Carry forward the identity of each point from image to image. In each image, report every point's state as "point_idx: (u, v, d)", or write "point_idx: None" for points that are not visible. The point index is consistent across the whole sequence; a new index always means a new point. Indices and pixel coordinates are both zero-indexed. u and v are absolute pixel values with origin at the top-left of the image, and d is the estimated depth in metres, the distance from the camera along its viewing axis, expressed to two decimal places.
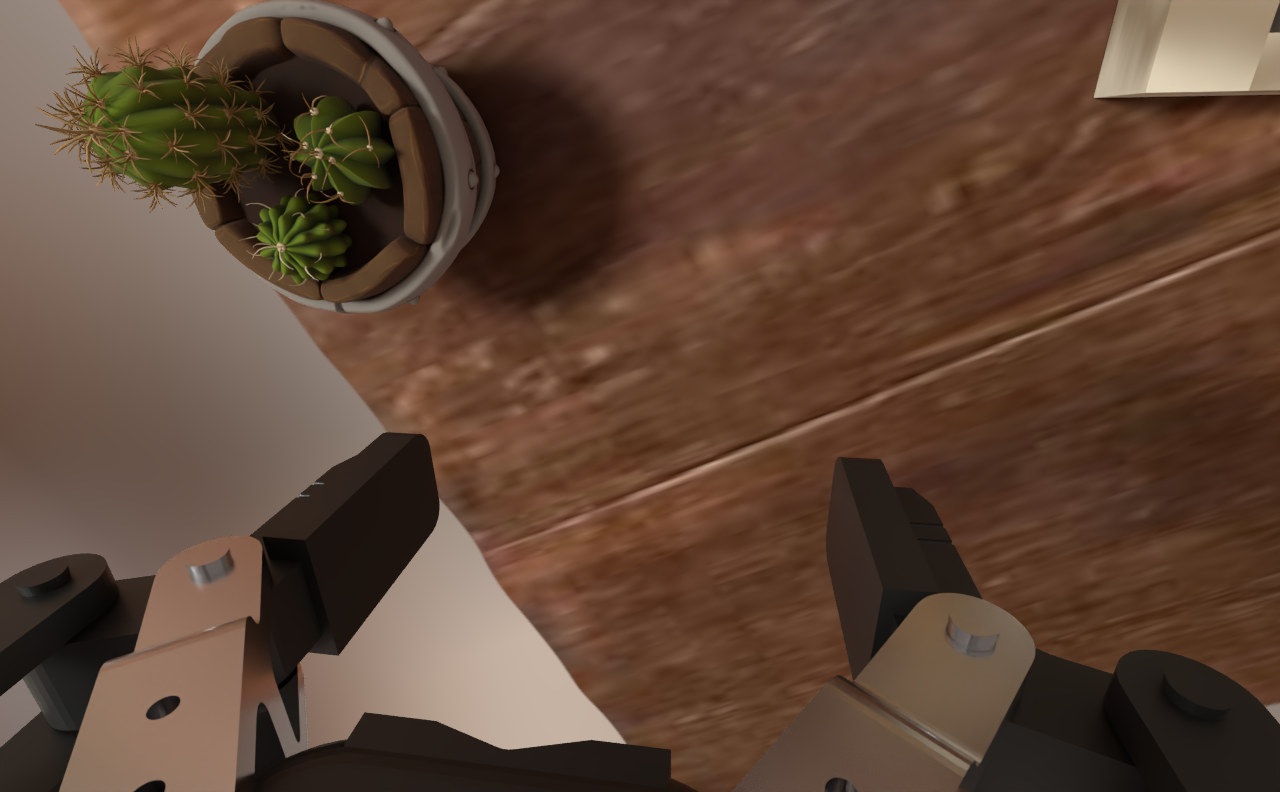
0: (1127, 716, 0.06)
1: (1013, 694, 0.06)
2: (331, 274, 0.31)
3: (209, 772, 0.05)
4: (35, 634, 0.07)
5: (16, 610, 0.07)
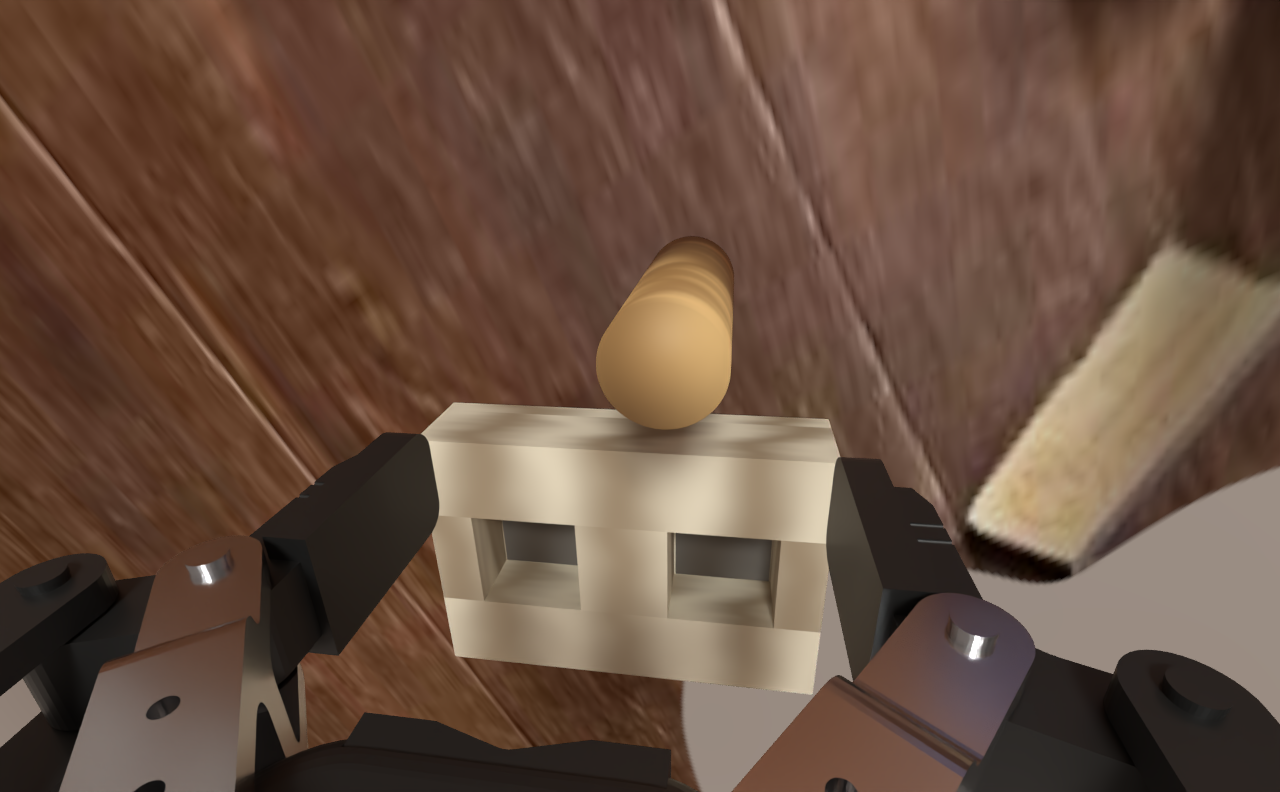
0: (1128, 716, 0.06)
1: (1013, 694, 0.06)
2: None
3: (209, 772, 0.05)
4: (35, 634, 0.07)
5: (16, 610, 0.07)
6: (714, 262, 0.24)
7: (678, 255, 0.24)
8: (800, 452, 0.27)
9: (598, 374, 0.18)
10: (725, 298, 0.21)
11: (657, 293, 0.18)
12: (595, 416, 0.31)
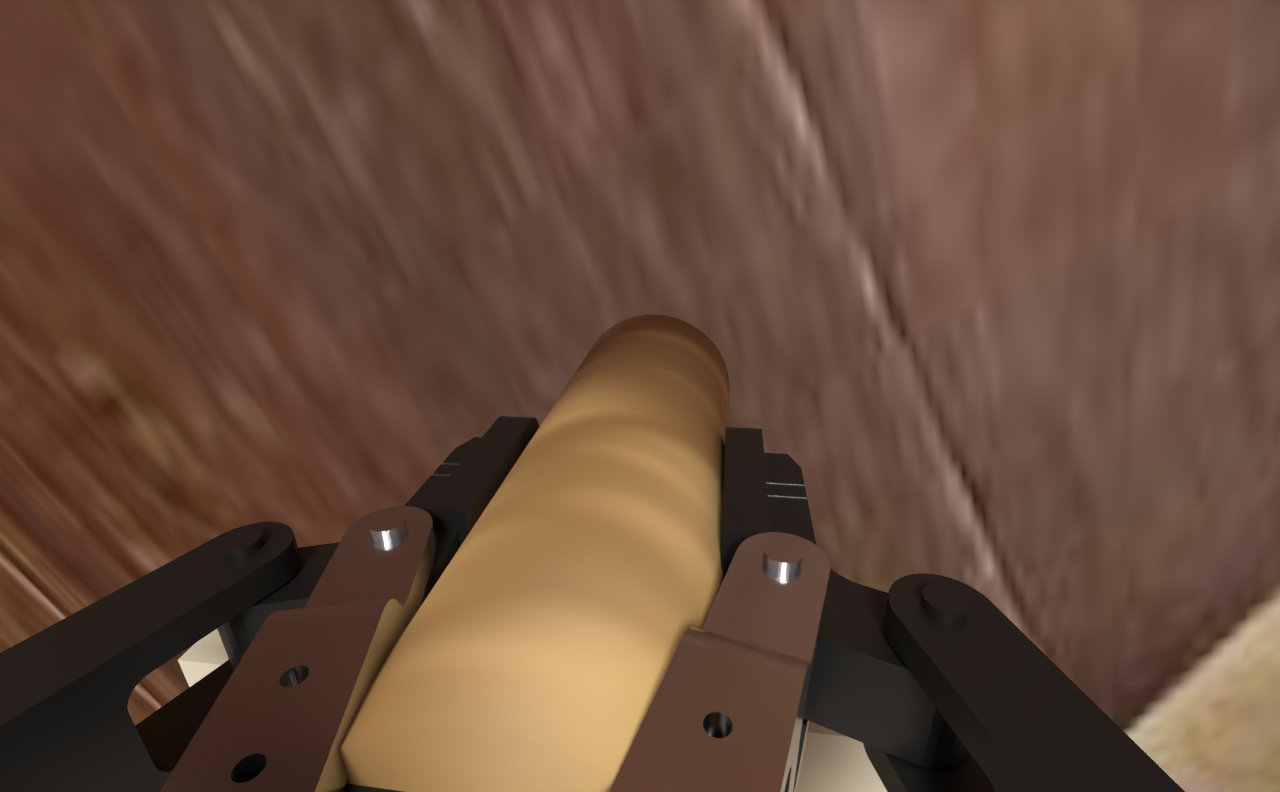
0: (903, 638, 0.07)
1: (795, 605, 0.07)
2: None
3: (300, 763, 0.05)
4: (218, 600, 0.07)
5: (213, 570, 0.08)
6: (689, 392, 0.12)
7: (613, 384, 0.11)
8: None
9: None
10: (708, 521, 0.09)
11: (491, 625, 0.06)
12: None
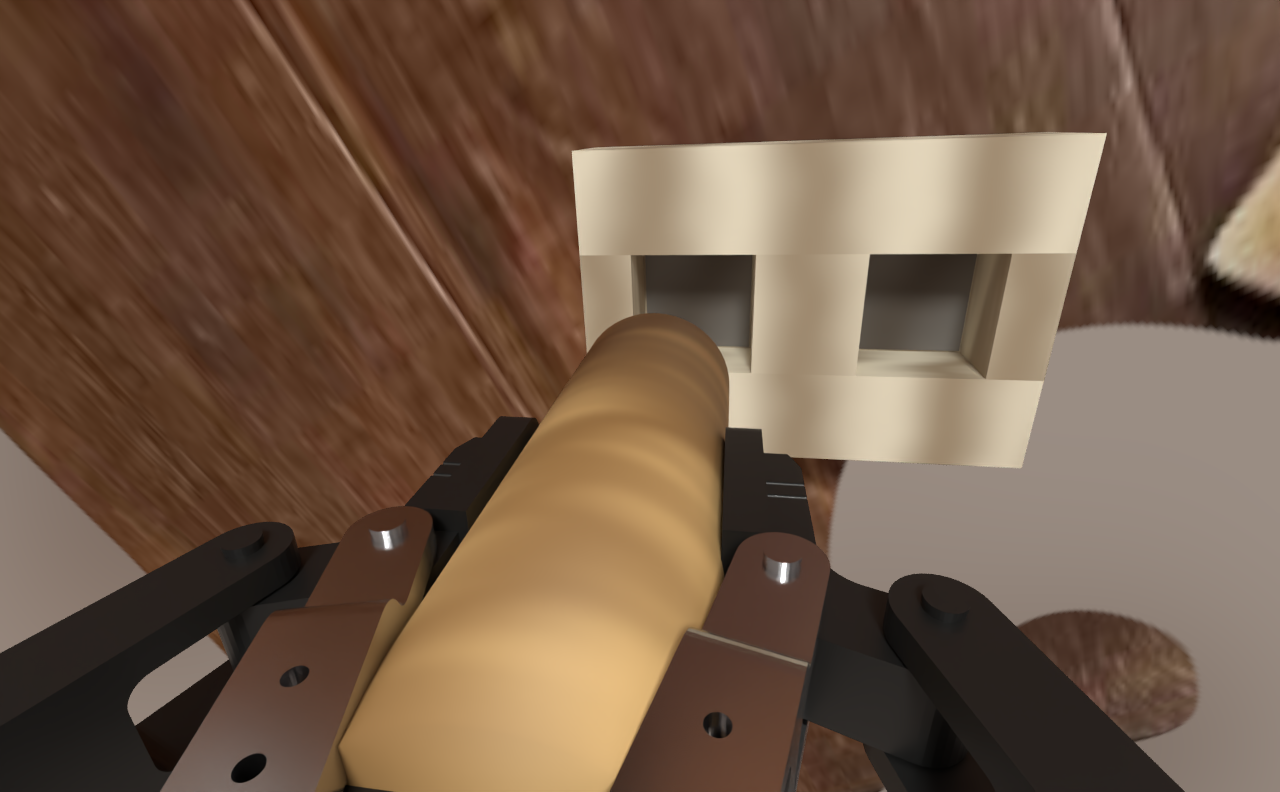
0: (903, 638, 0.07)
1: (795, 605, 0.07)
2: None
3: (301, 763, 0.05)
4: (217, 600, 0.07)
5: (213, 570, 0.08)
6: (689, 390, 0.12)
7: (613, 382, 0.11)
8: (1044, 134, 0.23)
9: None
10: (708, 519, 0.09)
11: (490, 622, 0.06)
12: None
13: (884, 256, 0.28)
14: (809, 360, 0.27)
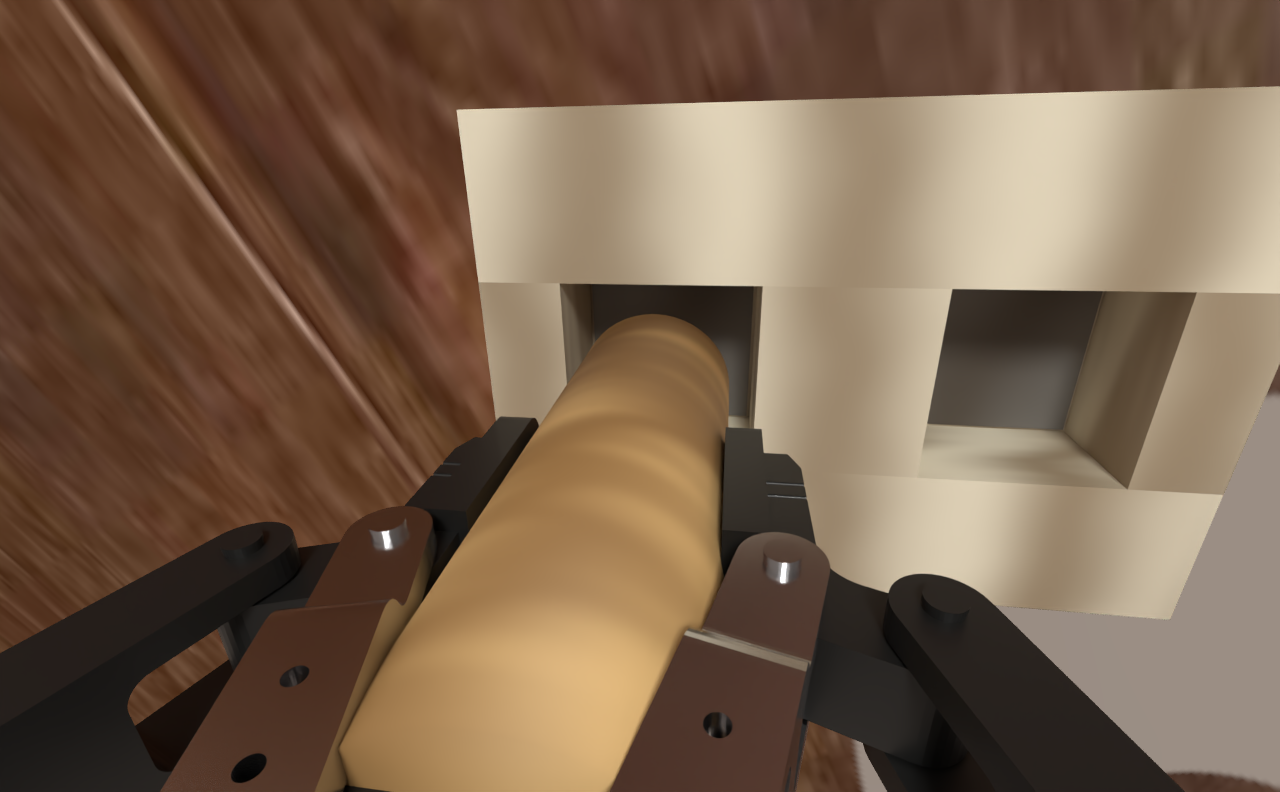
0: (903, 638, 0.07)
1: (795, 605, 0.07)
2: None
3: (301, 763, 0.05)
4: (218, 600, 0.07)
5: (213, 570, 0.08)
6: (689, 391, 0.12)
7: (613, 384, 0.11)
8: None
9: None
10: (708, 520, 0.09)
11: (490, 624, 0.06)
12: None
13: None
14: (844, 452, 0.17)
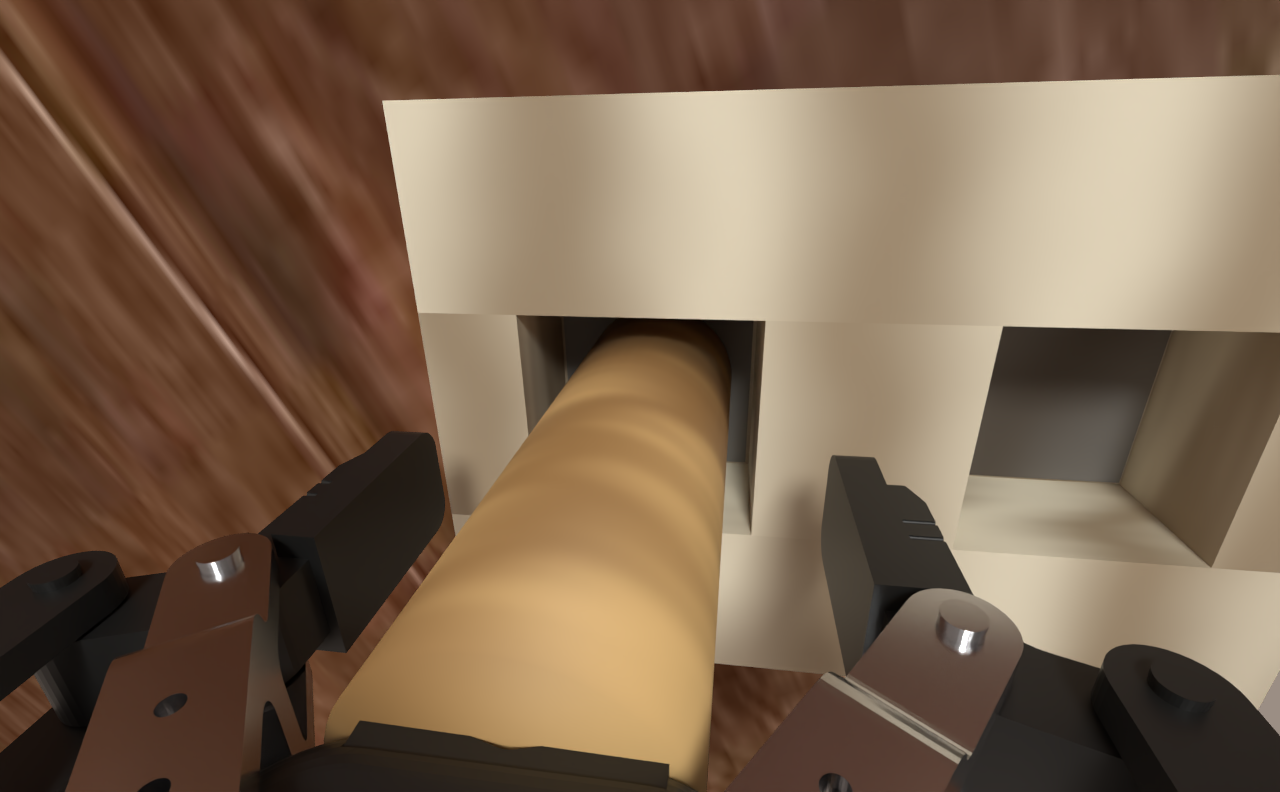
0: (1114, 710, 0.06)
1: (1001, 687, 0.06)
2: None
3: (213, 770, 0.05)
4: (46, 631, 0.07)
5: (27, 607, 0.07)
6: (691, 377, 0.13)
7: (618, 368, 0.12)
8: None
9: None
10: (705, 493, 0.10)
11: (502, 571, 0.06)
12: None
13: None
14: None
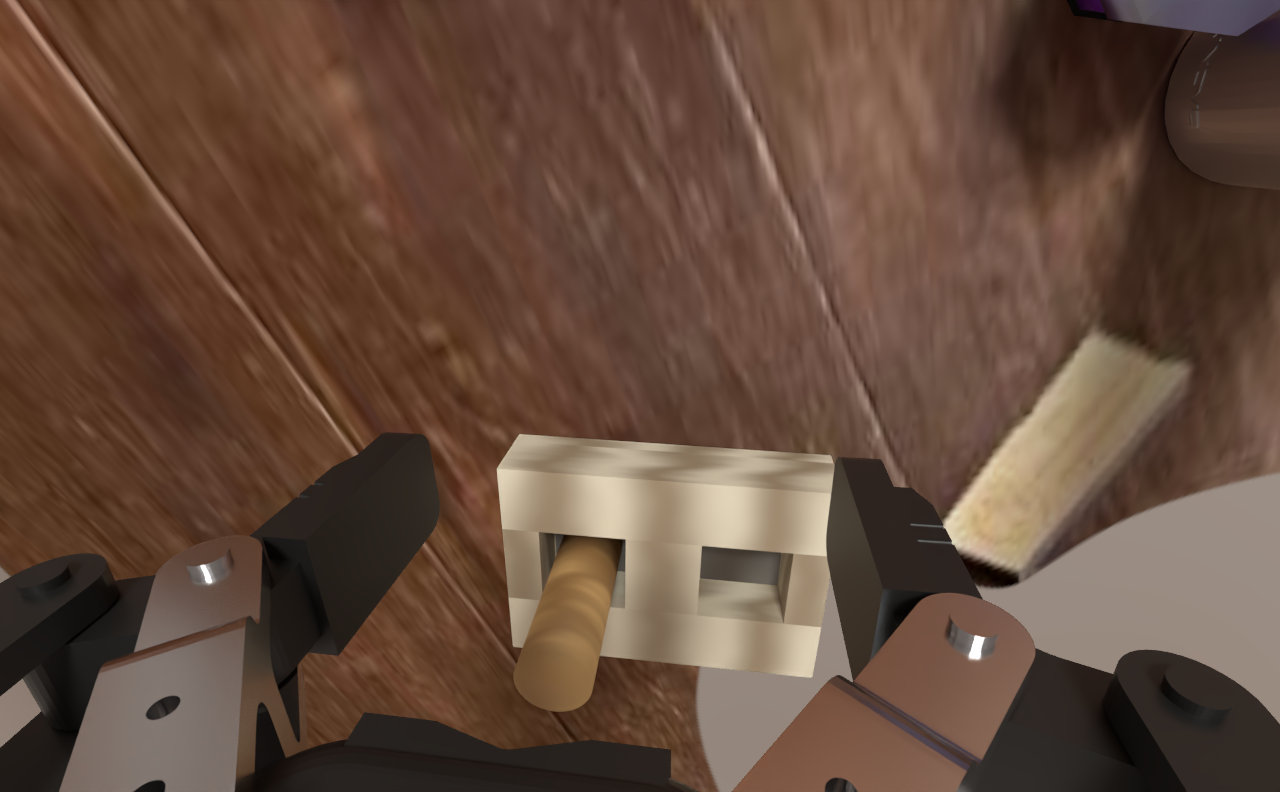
0: (1127, 716, 0.06)
1: (1013, 694, 0.06)
2: None
3: (209, 772, 0.05)
4: (35, 634, 0.07)
5: (16, 610, 0.07)
6: (602, 558, 0.37)
7: (577, 557, 0.36)
8: (811, 484, 0.35)
9: (514, 681, 0.30)
10: (601, 606, 0.34)
11: (552, 634, 0.30)
12: (641, 449, 0.38)
13: None
14: (665, 603, 0.38)
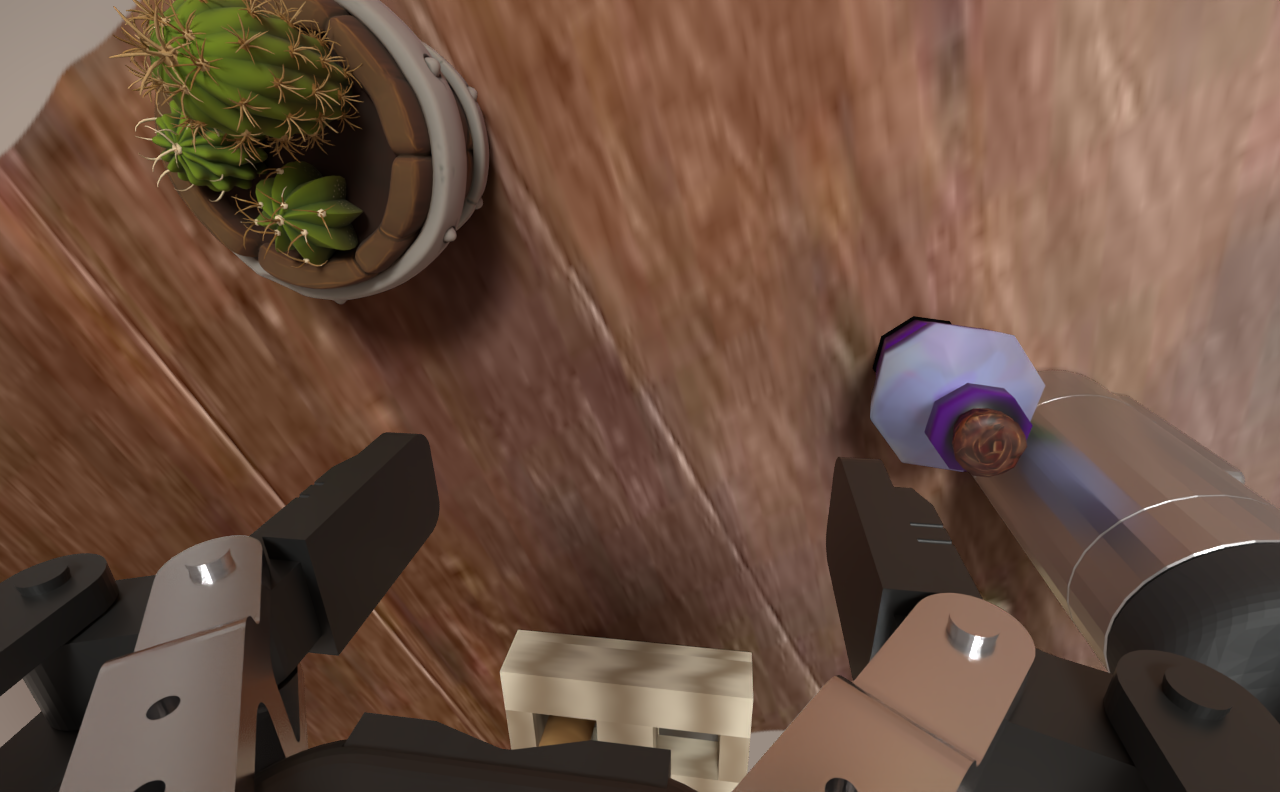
0: (1127, 716, 0.06)
1: (1013, 694, 0.06)
2: None
3: (209, 772, 0.05)
4: (36, 634, 0.07)
5: (16, 610, 0.07)
6: (577, 738, 0.49)
7: (557, 740, 0.48)
8: (730, 687, 0.47)
9: None
10: None
11: None
12: (608, 647, 0.51)
13: None
14: None
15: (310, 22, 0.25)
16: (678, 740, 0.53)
